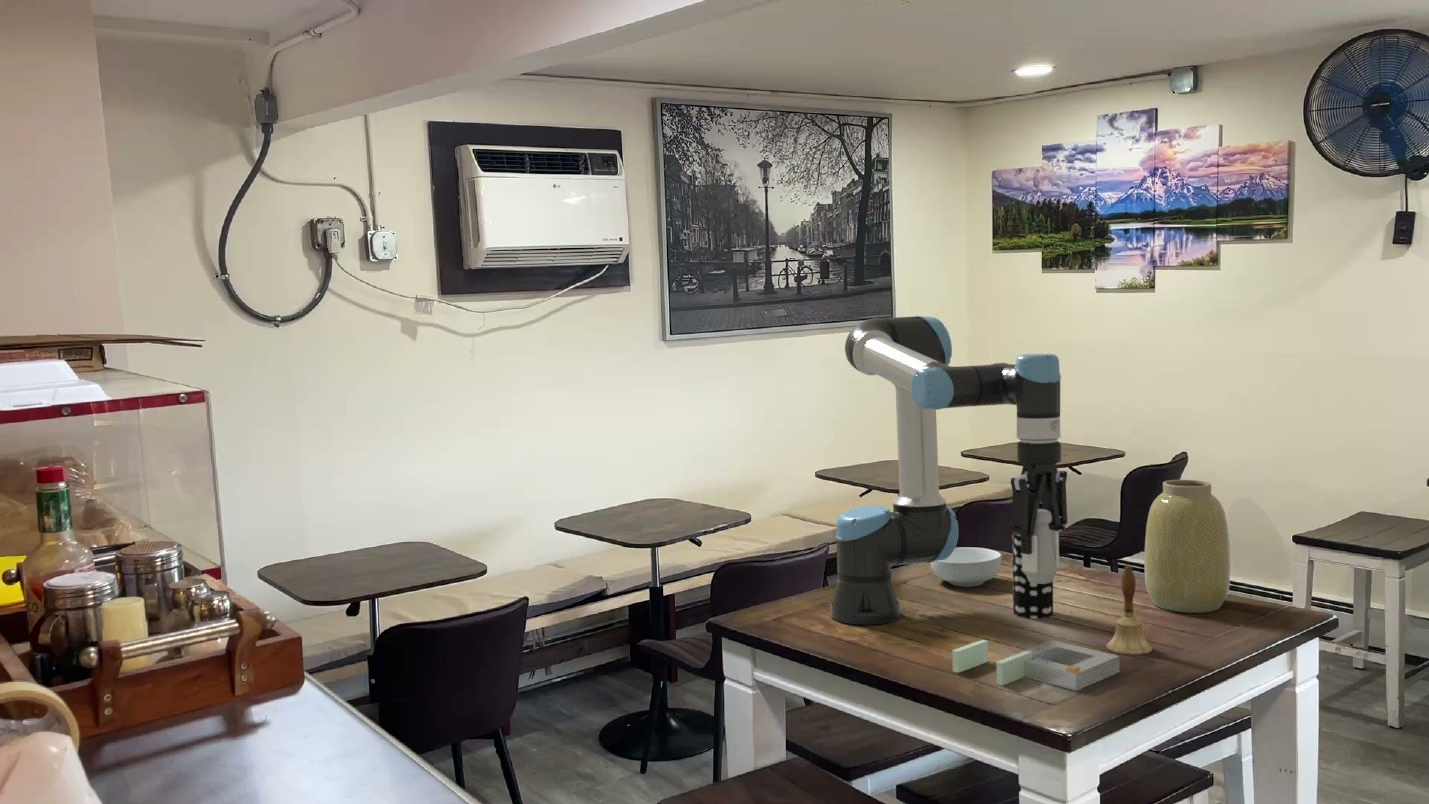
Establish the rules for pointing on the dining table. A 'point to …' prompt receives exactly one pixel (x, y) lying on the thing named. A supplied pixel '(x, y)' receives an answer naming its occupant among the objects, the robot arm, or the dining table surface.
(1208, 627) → the dining table surface
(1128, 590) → the hand bell
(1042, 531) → the salt shaker
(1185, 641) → the dining table surface
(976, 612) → the dining table surface
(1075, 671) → the socket
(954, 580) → the cereal bowl
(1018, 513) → the robot arm
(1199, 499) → the vase
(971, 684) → the dining table surface
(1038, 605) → the white-spotted black cylinder
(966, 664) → the pale green rectangular blocks
